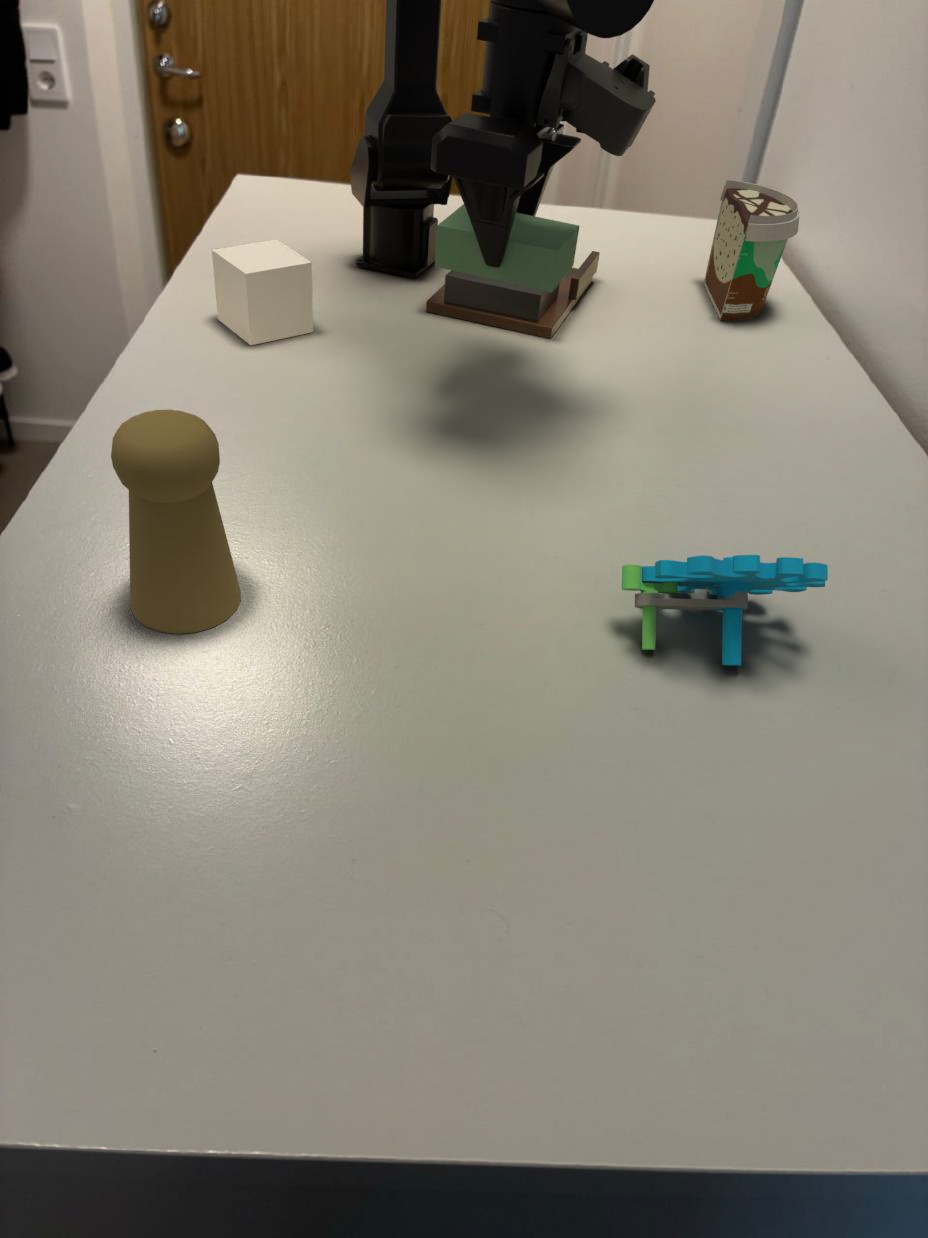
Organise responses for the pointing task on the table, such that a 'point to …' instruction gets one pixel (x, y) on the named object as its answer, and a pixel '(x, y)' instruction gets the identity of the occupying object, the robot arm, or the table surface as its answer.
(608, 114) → the robot arm
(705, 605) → the gear
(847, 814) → the table surface
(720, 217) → the food container
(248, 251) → the cream cube
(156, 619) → the cork
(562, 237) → the sage pad
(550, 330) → the frame
